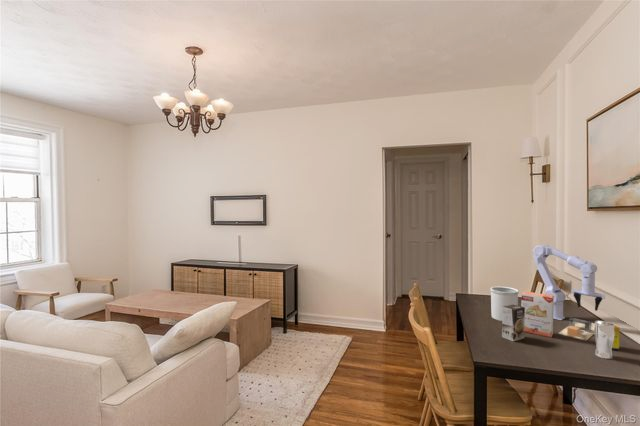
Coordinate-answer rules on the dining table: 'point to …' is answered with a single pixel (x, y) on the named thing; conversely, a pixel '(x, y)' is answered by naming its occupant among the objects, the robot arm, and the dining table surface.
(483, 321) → the dining table surface
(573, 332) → the plug
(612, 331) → the beer glass
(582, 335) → the board
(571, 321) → the housing
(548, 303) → the cracker box
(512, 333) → the coffee box
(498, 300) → the utensil holder
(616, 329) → the supplement box
